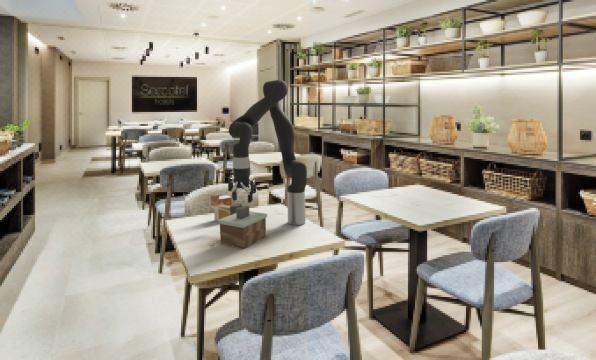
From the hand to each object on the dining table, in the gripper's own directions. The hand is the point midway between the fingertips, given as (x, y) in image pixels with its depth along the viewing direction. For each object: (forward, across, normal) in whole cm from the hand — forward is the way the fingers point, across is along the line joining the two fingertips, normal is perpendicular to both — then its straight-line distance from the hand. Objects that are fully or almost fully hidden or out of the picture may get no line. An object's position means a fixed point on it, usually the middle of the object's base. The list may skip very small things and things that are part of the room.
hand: (242, 201), depth 195 cm
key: (+7, +15, -6) cm, 18 cm away
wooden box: (+19, +1, 0) cm, 19 cm away
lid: (+9, 0, 0) cm, 9 cm away
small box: (+19, +30, -22) cm, 42 cm away
